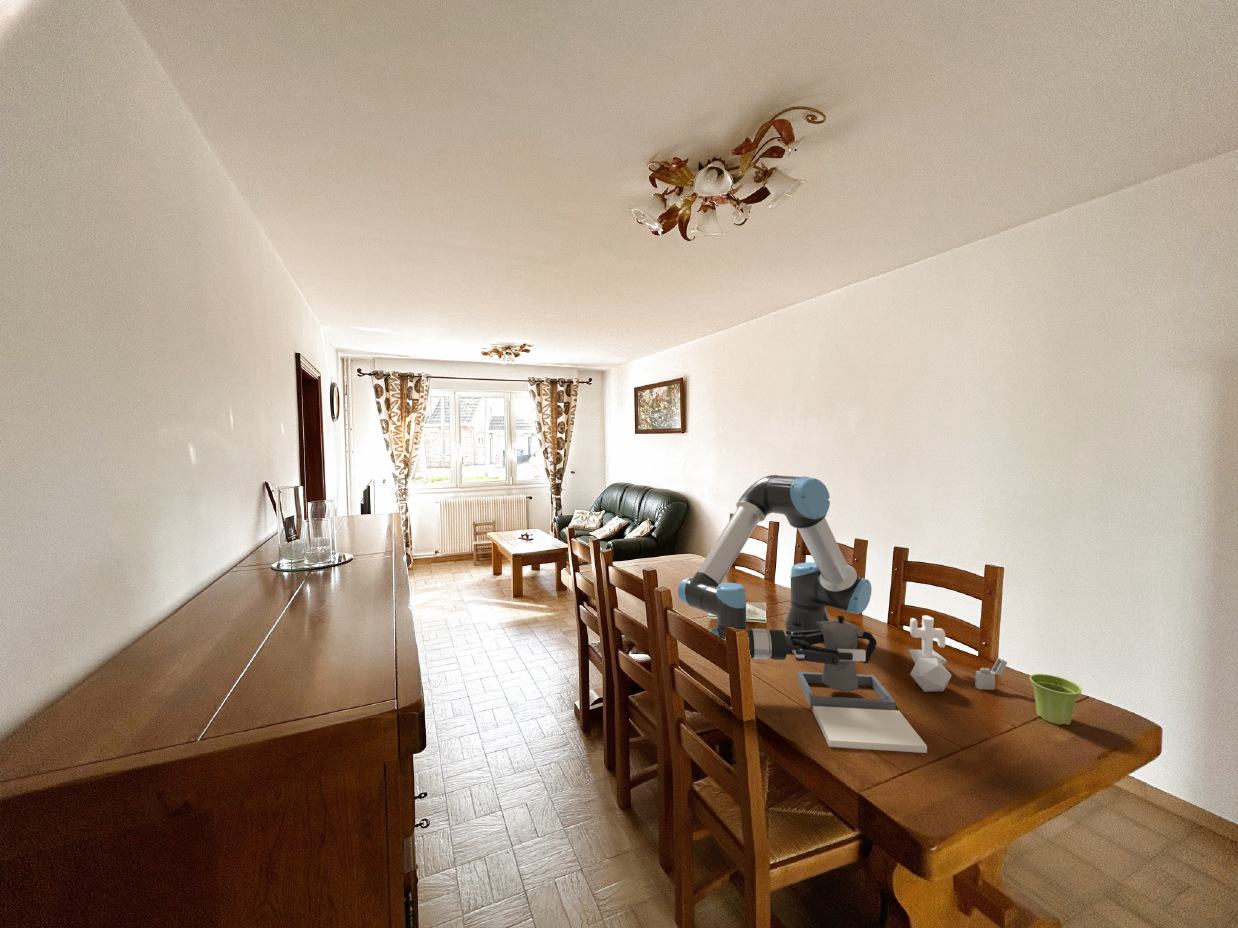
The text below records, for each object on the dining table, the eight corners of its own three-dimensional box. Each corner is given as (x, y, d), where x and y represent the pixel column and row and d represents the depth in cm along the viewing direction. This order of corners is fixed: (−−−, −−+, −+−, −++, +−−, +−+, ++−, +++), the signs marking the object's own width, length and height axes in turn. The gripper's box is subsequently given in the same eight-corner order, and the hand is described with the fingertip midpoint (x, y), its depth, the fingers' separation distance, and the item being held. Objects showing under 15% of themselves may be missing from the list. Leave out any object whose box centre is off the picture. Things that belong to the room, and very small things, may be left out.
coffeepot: (807, 679, 133) (808, 614, 132) (823, 667, 139) (824, 604, 138) (867, 702, 122) (869, 630, 120) (881, 688, 128) (883, 620, 127)
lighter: (979, 689, 133) (979, 659, 133) (974, 686, 135) (975, 657, 134) (1006, 689, 133) (1007, 660, 132) (1002, 686, 134) (1002, 657, 134)
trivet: (812, 711, 123) (812, 705, 123) (898, 716, 121) (898, 710, 121) (829, 746, 109) (829, 740, 109) (926, 752, 107) (927, 746, 107)
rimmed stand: (797, 680, 139) (798, 671, 139) (873, 683, 137) (873, 675, 136) (810, 707, 125) (810, 697, 125) (895, 711, 123) (895, 702, 123)
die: (949, 702, 128) (962, 668, 130) (917, 684, 129) (930, 650, 132) (930, 698, 136) (942, 665, 138) (900, 680, 137) (913, 648, 139)
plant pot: (1081, 718, 119) (1082, 682, 119) (1079, 735, 112) (1080, 697, 112) (1030, 703, 126) (1032, 670, 125) (1026, 718, 119) (1027, 683, 119)
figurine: (950, 673, 142) (952, 621, 141) (916, 672, 143) (917, 621, 142) (936, 661, 149) (937, 612, 148) (904, 661, 150) (904, 612, 149)
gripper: (762, 640, 144) (844, 643, 141) (776, 677, 122) (874, 681, 119) (762, 615, 143) (844, 617, 140) (776, 647, 121) (874, 651, 119)
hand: (858, 646), depth 130 cm, fingers closed on coffeepot, 9 cm apart
